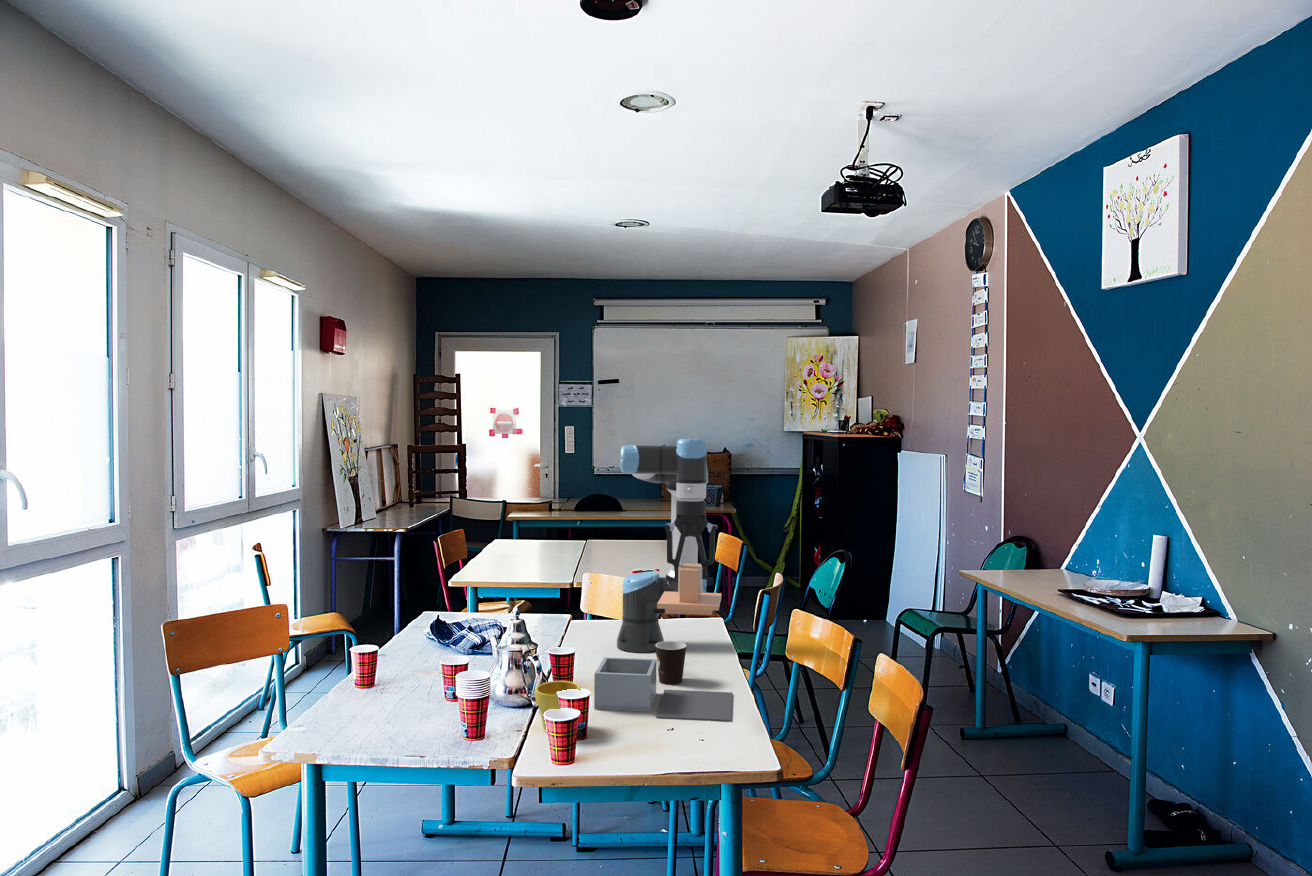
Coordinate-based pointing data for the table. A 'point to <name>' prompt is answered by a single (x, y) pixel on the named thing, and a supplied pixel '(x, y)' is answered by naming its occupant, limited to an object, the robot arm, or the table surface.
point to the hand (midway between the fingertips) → (690, 591)
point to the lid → (689, 595)
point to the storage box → (625, 684)
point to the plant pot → (551, 695)
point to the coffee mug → (670, 661)
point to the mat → (695, 705)
